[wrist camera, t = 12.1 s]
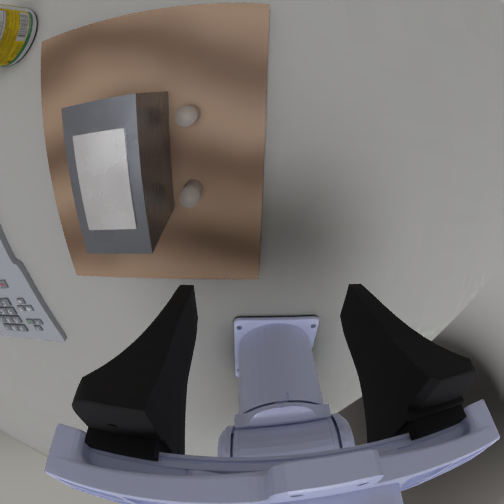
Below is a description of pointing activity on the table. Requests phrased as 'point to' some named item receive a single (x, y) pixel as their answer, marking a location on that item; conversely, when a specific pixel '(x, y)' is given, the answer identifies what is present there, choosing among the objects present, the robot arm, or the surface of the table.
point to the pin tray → (175, 129)
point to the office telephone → (23, 301)
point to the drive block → (120, 171)
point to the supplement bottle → (15, 33)
